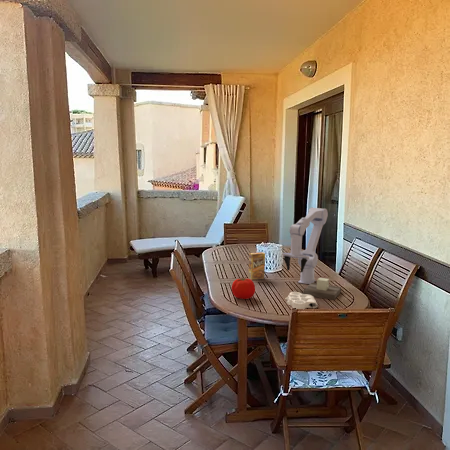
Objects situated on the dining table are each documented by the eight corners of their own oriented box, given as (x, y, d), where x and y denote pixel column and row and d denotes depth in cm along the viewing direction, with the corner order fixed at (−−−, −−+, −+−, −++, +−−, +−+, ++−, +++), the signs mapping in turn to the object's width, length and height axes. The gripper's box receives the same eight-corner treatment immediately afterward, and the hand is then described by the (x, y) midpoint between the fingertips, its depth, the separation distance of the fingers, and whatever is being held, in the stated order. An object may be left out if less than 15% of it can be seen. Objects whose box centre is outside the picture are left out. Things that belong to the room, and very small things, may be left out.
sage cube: (318, 286, 218) (319, 277, 218) (328, 288, 216) (328, 279, 215) (316, 289, 214) (317, 279, 213) (326, 290, 212) (326, 281, 211)
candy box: (251, 280, 237) (252, 254, 235) (248, 278, 241) (248, 252, 239) (264, 278, 241) (265, 253, 239) (261, 276, 245) (261, 251, 242)
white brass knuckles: (318, 311, 189) (287, 310, 190) (312, 298, 207) (283, 297, 208) (319, 304, 189) (287, 303, 189) (312, 292, 207) (283, 291, 207)
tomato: (253, 294, 210) (254, 275, 209) (256, 301, 199) (256, 281, 198) (230, 294, 210) (230, 274, 208) (231, 301, 199) (232, 281, 197)
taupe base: (311, 286, 226) (311, 282, 226) (340, 291, 219) (341, 287, 219) (303, 294, 212) (303, 290, 212) (334, 299, 205) (334, 295, 205)
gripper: (281, 246, 221) (280, 270, 223) (307, 249, 214) (306, 274, 216) (285, 244, 227) (284, 267, 229) (310, 247, 221) (309, 271, 223)
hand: (295, 270), depth 223 cm, fingers open, 7 cm apart
